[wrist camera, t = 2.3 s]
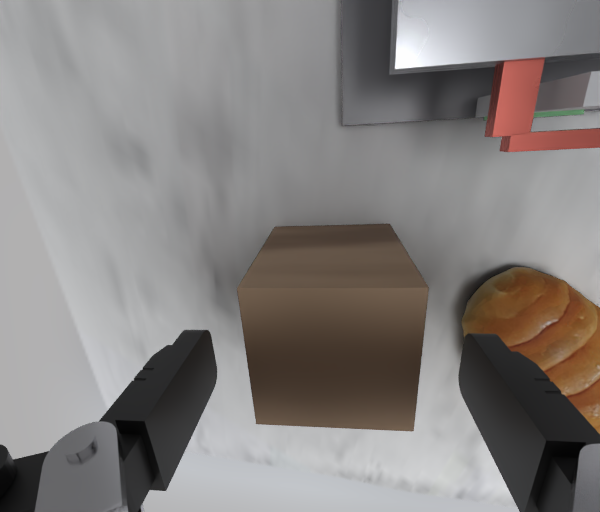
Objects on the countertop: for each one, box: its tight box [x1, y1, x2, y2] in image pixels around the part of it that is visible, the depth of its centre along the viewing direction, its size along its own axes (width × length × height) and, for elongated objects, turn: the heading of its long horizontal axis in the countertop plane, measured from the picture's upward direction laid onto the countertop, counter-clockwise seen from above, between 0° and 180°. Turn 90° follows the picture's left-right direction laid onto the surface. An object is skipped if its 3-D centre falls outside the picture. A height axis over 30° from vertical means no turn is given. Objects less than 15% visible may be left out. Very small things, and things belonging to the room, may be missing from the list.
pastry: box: [461, 267, 600, 434], centre depth 13 cm, size 9×7×4 cm
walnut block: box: [237, 224, 429, 431], centre depth 12 cm, size 5×5×6 cm
